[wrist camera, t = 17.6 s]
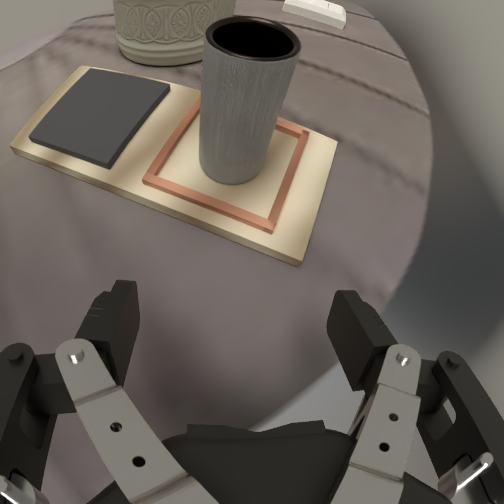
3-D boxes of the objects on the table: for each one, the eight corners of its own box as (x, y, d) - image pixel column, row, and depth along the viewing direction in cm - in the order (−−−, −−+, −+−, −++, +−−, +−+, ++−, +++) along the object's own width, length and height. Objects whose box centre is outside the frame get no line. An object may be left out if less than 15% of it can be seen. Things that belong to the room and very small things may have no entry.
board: (14, 153, 20) (6, 141, 18) (83, 73, 24) (79, 61, 22) (296, 266, 20) (304, 258, 19) (332, 150, 24) (340, 137, 23)
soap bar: (341, 31, 34) (347, 17, 31) (281, 12, 33) (285, -2, 31) (342, 20, 36) (347, 7, 33) (286, 2, 35) (290, -11, 33)
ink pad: (31, 142, 19) (28, 136, 19) (92, 73, 23) (90, 67, 22) (109, 170, 19) (107, 163, 19) (170, 90, 23) (170, 84, 22)
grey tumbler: (235, 197, 20) (264, 73, 10) (185, 160, 20) (183, 33, 11) (274, 158, 22) (318, 42, 12) (227, 125, 22) (246, 8, 12)
